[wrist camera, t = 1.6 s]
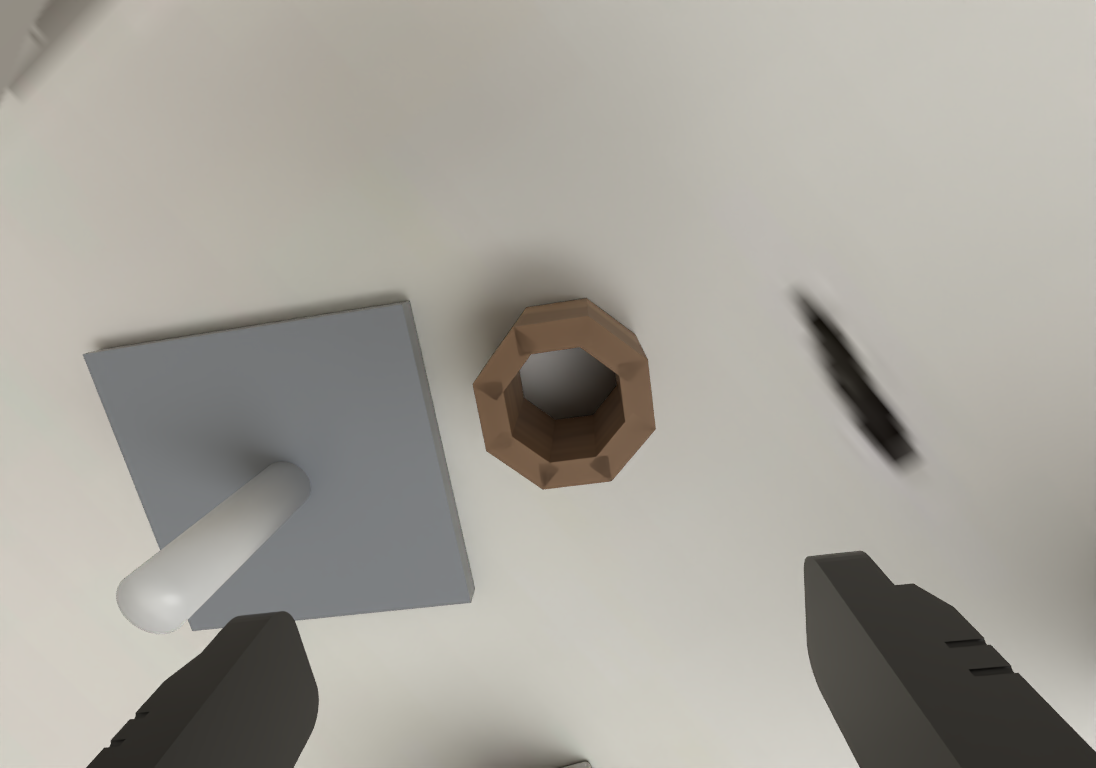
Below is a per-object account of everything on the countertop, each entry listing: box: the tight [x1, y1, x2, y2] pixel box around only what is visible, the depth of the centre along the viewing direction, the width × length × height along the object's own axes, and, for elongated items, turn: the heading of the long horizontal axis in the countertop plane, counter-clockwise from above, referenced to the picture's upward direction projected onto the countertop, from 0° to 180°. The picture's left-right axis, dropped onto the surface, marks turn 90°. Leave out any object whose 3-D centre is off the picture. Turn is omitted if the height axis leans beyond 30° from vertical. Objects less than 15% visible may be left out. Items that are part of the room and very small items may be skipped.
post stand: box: [83, 301, 475, 634], centre depth 21 cm, size 14×14×9 cm
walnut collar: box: [473, 298, 656, 489], centre depth 21 cm, size 6×6×4 cm
